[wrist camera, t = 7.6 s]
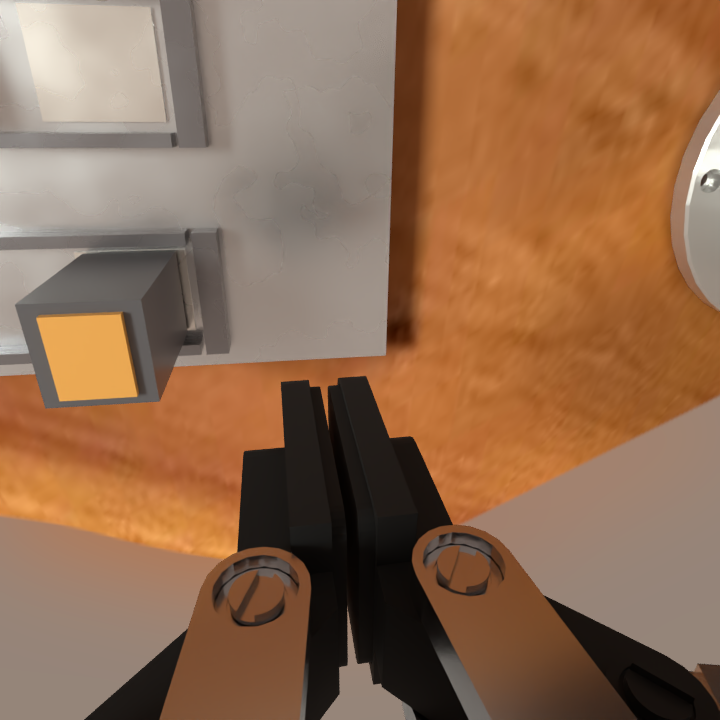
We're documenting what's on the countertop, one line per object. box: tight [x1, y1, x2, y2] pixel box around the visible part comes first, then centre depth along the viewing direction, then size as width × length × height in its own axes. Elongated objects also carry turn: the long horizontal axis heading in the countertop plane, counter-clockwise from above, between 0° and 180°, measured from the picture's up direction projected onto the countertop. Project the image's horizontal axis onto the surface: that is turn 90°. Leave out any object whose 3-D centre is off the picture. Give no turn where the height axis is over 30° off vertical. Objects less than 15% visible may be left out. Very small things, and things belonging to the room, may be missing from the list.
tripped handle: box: [15, 251, 188, 408], centre depth 16 cm, size 3×3×5 cm
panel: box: [0, 0, 397, 376], centre depth 17 cm, size 22×13×2 cm, turn 90°
